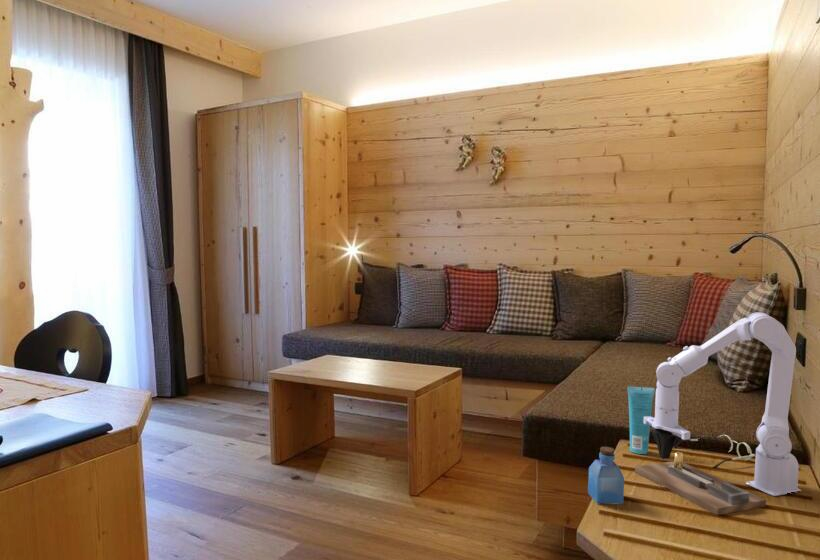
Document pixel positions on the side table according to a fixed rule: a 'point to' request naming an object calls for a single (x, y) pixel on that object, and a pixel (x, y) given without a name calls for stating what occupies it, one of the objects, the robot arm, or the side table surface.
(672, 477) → the door board
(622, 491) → the perfume bottle
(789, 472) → the robot arm
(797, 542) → the side table surface
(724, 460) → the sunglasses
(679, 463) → the bolt
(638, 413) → the tube
